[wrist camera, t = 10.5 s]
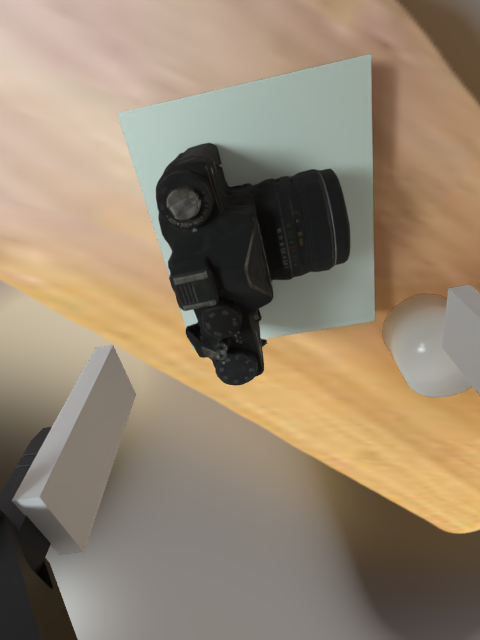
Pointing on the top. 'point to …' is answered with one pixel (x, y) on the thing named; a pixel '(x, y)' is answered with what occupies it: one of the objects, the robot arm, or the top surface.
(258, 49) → the top surface
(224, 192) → the camera
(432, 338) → the grey rounded block
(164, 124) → the stand
